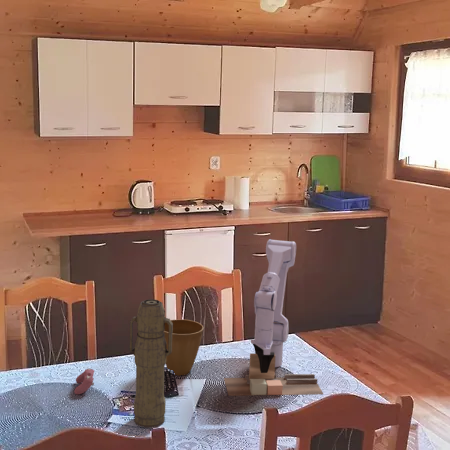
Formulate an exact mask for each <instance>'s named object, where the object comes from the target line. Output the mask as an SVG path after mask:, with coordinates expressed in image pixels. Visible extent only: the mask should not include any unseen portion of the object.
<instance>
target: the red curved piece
mask: <svg viewBox="0 0 450 450" xmlns="http://www.w3.org/2000/svg"><path fill="white" fill-rule="evenodd" d="M94 375H95V370H94V369H93V368H89V367H87V368H86V369H85V370H84V371H83V372H82V373H80V374H79V375H77V377H76V379H75V382H76V383H77V384H78V386H76V387H75V388H74V392H73V393H74V394H75V395H81V394H83V393H84V394H85V392H87V391H88V390H90V389H91V387H93V386H94V384H95V382H94Z"/></svg>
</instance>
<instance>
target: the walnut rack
mask: <svg viewBox="0 0 450 450" xmlns="http://www.w3.org/2000/svg"><path fill="white" fill-rule="evenodd" d="M315 376H316V375H315V374H314V373H296V374H295V373H293V374H292V373H290V374H288V373H286V374H284V375H283V377H277V375H276V373H275V375H274V379H265V381H266V380H280V381H281V383H282V385H283V389H282V395H281V396H295V395H296V396H299V395H301V396H303V395H310V396H311V395H324V392H323V391H322V389H321V387H320V385H319V384H318V378H315ZM223 379H224V383H225V387H226V391H227V395H228V397H229V396H233V397H234V396H235V397H236V396H237V397H238V396H239V397H240V396H241V397H242V396H247V397H248V396H252V395H251V392H250V379H249V374H245V377H224V378H223ZM265 396H268V395H267V392H266V395H265Z"/></svg>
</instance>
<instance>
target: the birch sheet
mask: <svg viewBox="0 0 450 450" xmlns="http://www.w3.org/2000/svg"><path fill="white" fill-rule="evenodd" d="M248 366H249V369H248V375H249V379H274V375H275V374H276V373H275V371H276V367H275V355H274V357H273V359H272V360H271V363H270V366H269V369H268V372H267V373H261V371H260V363H259V358H258V355H257V354H255V353H249V365H248Z"/></svg>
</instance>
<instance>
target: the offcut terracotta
mask: <svg viewBox="0 0 450 450" xmlns="http://www.w3.org/2000/svg"><path fill="white" fill-rule="evenodd" d="M266 383H267V391H266V392H267V395H266V396H283V395H282V389H283V385H282V383H281V381H280V380H266Z"/></svg>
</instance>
